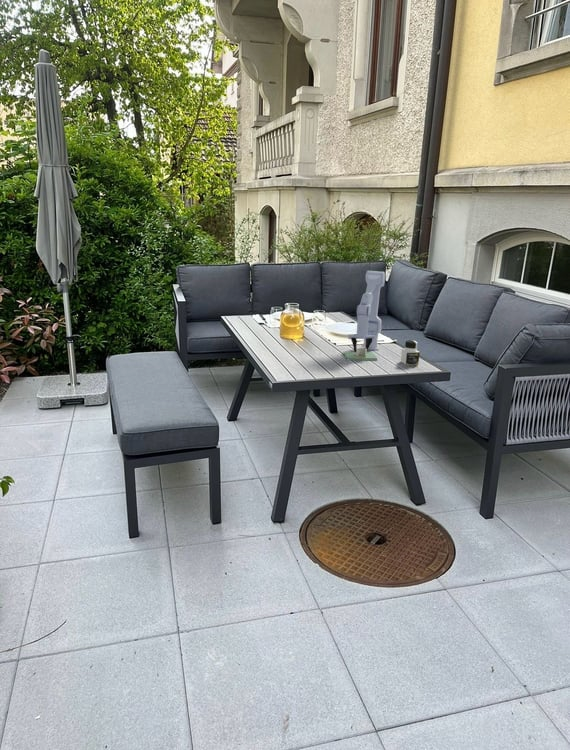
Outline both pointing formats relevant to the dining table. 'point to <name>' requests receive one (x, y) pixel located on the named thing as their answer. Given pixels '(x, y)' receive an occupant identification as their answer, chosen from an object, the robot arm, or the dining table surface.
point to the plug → (360, 350)
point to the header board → (360, 356)
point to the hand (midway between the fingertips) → (360, 351)
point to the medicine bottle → (410, 353)
